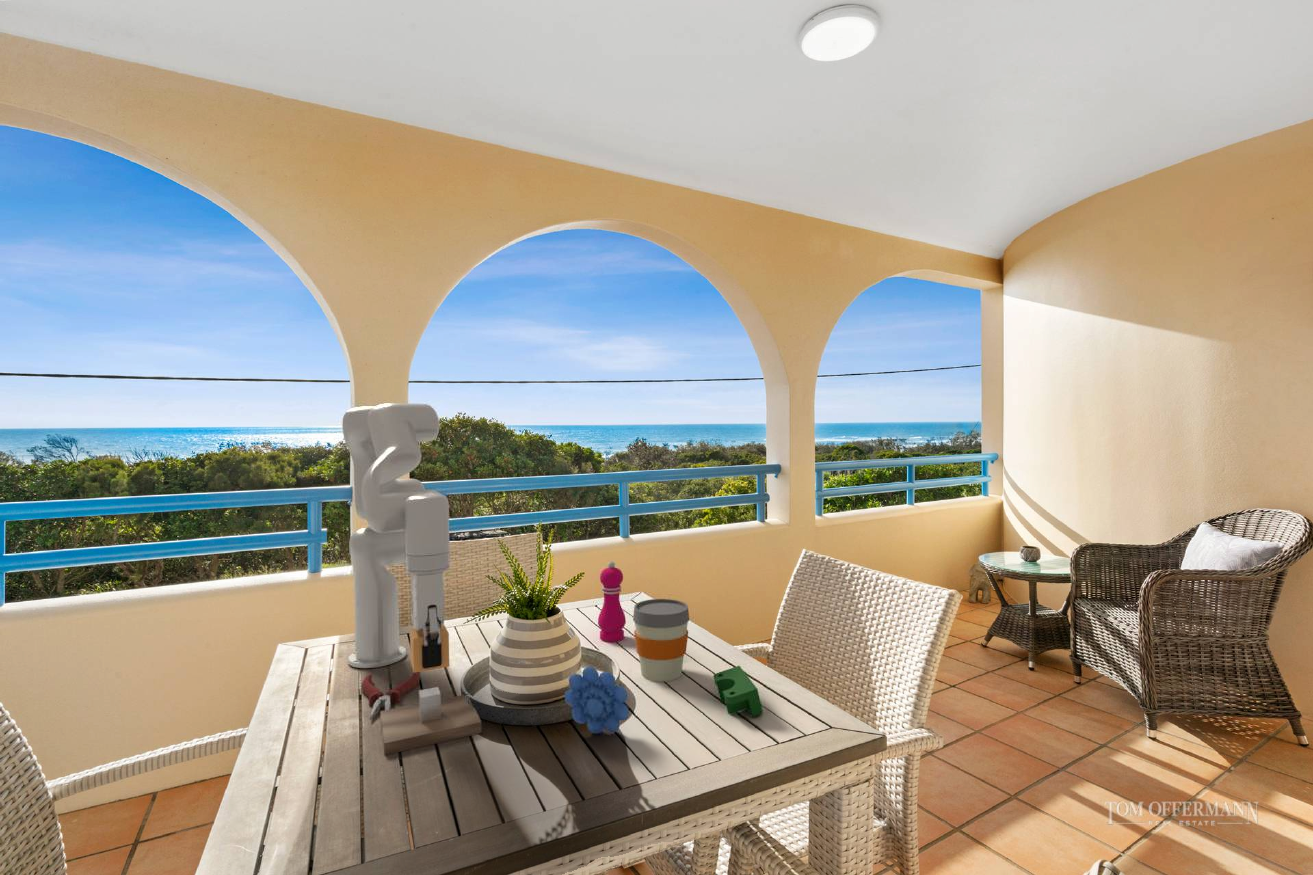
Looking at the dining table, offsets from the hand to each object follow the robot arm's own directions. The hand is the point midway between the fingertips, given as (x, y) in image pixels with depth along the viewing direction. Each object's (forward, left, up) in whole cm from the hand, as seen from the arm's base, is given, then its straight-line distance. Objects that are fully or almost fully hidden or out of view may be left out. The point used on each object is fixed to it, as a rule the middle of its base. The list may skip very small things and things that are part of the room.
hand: (429, 659), depth 112 cm
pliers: (-18, -8, -13) cm, 24 cm away
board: (0, 0, -13) cm, 13 cm away
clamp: (+19, +55, -13) cm, 59 cm away
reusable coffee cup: (-2, +49, -13) cm, 51 cm away
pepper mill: (-28, +48, -13) cm, 57 cm away
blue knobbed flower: (+17, +26, -13) cm, 33 cm away
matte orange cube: (0, 0, -1) cm, 1 cm away
